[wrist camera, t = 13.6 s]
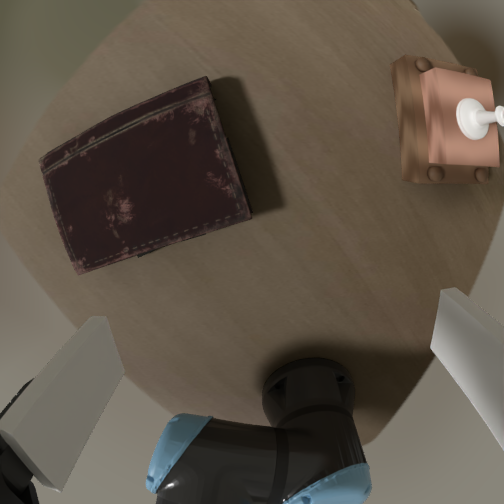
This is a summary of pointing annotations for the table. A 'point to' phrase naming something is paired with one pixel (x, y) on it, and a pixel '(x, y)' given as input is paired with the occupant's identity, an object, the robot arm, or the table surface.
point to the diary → (145, 179)
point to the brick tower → (441, 122)
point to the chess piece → (476, 118)
